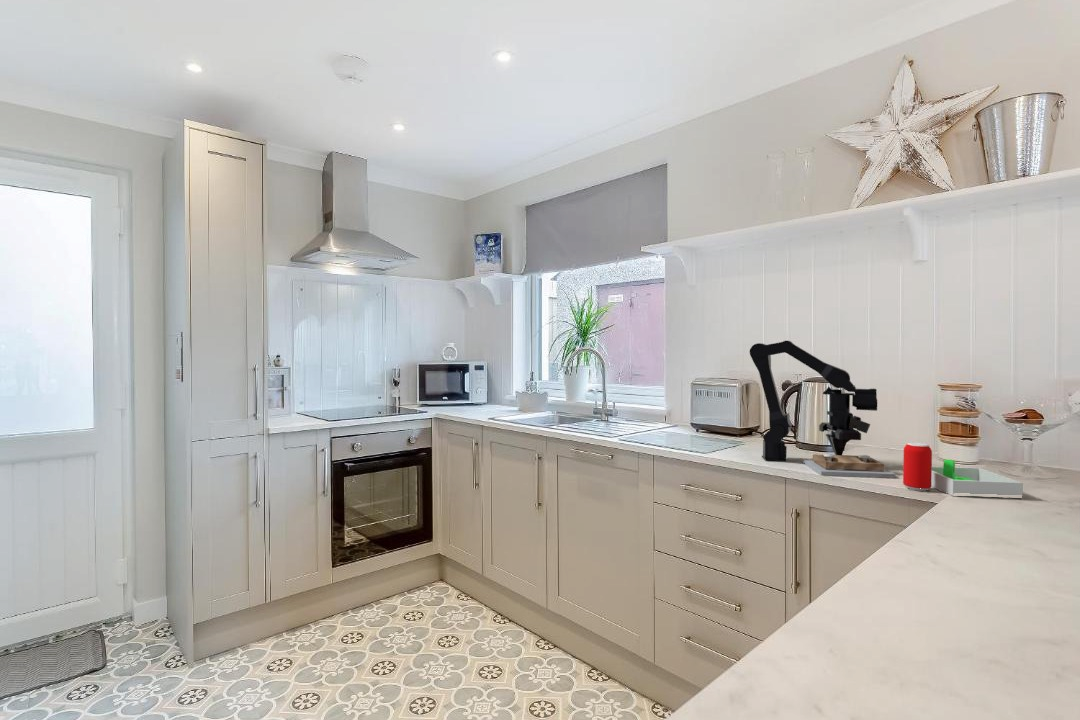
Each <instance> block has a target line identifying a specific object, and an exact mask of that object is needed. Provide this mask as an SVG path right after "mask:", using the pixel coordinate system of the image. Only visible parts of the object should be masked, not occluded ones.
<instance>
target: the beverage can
mask: <svg viewBox="0 0 1080 720" xmlns="http://www.w3.org/2000/svg"><path fill="white" fill-rule="evenodd" d="M902 463H903V465H902V466H903V469H902V470H903V473H902V474H903V475H902V483H903V486H904V487H906V488H908V489H909V490H912V491H919V492H925V491H928V490H930V489H932V486H931V480H932V467H933V465H932V463H933V450H932V449H931V447H930V445H929V444H927V443H923V442H908V443H906V444H905V446H904V447H903V462H902ZM920 488H921V489H920Z"/></svg>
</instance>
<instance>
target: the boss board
mask: <svg viewBox="0 0 1080 720" xmlns="http://www.w3.org/2000/svg"><path fill="white" fill-rule="evenodd" d="M823 455H824V457H826V459H827V461H828V462H832V458H834V457H835V454H830V453H824V454H823ZM858 456H859V458H862V462H864V463H867V459H870V457H871V456H870V455H867V454H858ZM804 463H805V464H806V465H805V464H804ZM802 464H804V465H805V466H807V465H808V466H809V467H808V466H807V467H808V468H809V469H811V468H812V469H811V470H812V471H814V472H815V471H816V472H815V473H817V474H818V475H820V476H826V477H852V478H877V479H878V478H881V479H882V478H883V479H884V478H885V479H896V478H897V473H894V472H892V471H891V470H888V469H886V468H884V471H876V470H846V469H825V468H824V467H822V466H820V465H819V464H817V463H816V462H814V461H813V458H811V459H810V458H807V459H806V458H805V459H804V458H803V459H802Z"/></svg>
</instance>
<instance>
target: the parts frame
mask: <svg viewBox="0 0 1080 720" xmlns="http://www.w3.org/2000/svg"><path fill="white" fill-rule="evenodd" d="M955 476H956V477H964V478H969V479H973V480H975V481H972V480H954V479H951V478H949V477H947V476H944V475H943V466H932V480H931V488H934V489H937V490H938V489H939V491H940V490H941V492H943V491H944V492H943V493H945V492H947V493H950V494H954V493H970V494H997V495H1022V496H1024V494H1023V493H1024V482H1022V481H1019V480H1015V479H1013V478H1009V477H1007V476H1004V475H1001V474H998V473H995V472H992V471H990V470H987V469H984V468H981V467H964V466H963V467H961V466H959V467H958V466H955ZM947 493H946V494H947Z"/></svg>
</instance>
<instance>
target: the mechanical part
mask: <svg viewBox="0 0 1080 720" xmlns="http://www.w3.org/2000/svg"><path fill="white" fill-rule="evenodd" d="M942 467H943V475H944V476H947V477H949V478H951V479H954V480H972V481H975V480H973V479H969V478H964V477H956V476H955V467H956V461H955V460H954V459H945V458H944V460H943V465H942Z"/></svg>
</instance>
